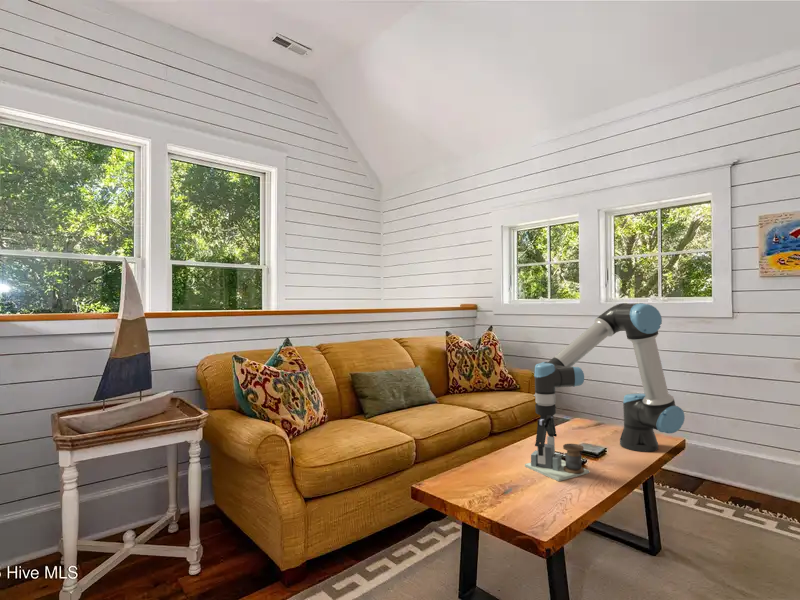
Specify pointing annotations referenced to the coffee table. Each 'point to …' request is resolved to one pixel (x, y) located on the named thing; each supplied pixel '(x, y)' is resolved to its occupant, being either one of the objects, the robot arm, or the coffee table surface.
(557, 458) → the notch
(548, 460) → the gray rectangular block
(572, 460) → the bobbin
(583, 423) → the coffee table surface
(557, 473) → the board
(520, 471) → the coffee table surface
